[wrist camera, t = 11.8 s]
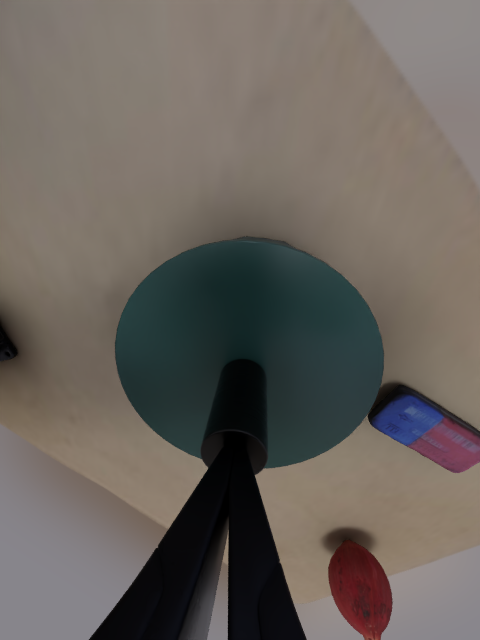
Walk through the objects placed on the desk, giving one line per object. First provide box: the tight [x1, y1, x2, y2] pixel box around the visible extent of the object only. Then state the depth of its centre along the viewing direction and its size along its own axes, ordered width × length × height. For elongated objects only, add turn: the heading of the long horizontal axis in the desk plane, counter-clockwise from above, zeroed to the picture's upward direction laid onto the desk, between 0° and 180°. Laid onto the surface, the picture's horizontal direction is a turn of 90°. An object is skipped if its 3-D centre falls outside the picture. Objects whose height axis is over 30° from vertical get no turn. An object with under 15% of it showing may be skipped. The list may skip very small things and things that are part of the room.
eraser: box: [368, 385, 480, 473], centre depth 20 cm, size 11×4×2 cm, turn 58°
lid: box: [115, 239, 384, 475], centre depth 11 cm, size 14×14×6 cm
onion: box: [328, 540, 392, 640], centre depth 25 cm, size 6×6×8 cm
